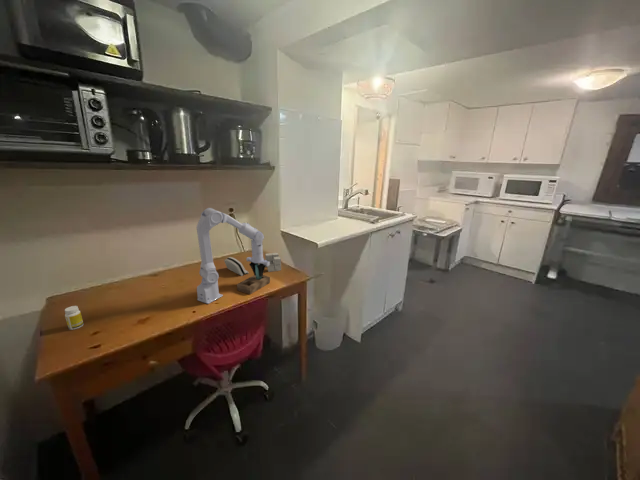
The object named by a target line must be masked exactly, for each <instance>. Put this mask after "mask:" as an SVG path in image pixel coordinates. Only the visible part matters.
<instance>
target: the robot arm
mask: <svg viewBox="0 0 640 480" xmlns="http://www.w3.org/2000/svg"><path fill="white" fill-rule="evenodd" d="M221 223H222V224H229V225H230V226H233V227H234V228H236V229H237V230H238V233H239V234H240V235H241V234H242V235H243V236H245V237H247V238H249V240H251V241H250V242H251V256H248V257H246V262H249V267H250V268H251V269H252V272H253V276H254V275H255V276H256V272H255V265H257V264H260V265H257V267H258V270H259V277H261V276H263V275H264V271H265V269H266V268H267V267H266V266H269V265H270V262H269V261H266V259H265V258H264V250H263V249H264V247H263V241H264V240H265V235H264V234H263V232H262V231H260V230H258V228H257V227H253V226H252V225H251V224H250V223H249V222H240V221H238V220H237V219H235V218H233V217H232V216H230V215H229V214H227V213H224V212H222V211H220V210H217V209H214V208H213V207H207V208H206V209H204V210H203V211H202V212H201V213H200V218H199V220H198V222H197V225H196V234H197V239H198V246H199V247H198V248H199V253H200V260H201V263H200V269H199V275H200V277H201V282H200V284H198V285H197V286H196V293H197V298H196V300H197V301H199V302H201V303H204V304H208V305H209V304H211V303H212V302H215V301H216V300H219V299H220V298H222V297H223V296H224V295H223V294H221V293H220V292H219V291H220V290H219V282H218V281H219V279H220V276H219V272H218V271H217V270H216V269H217V268H216V266H215V263H214V257H213V251H212V250H213V249H212V243H211V237H210V235H211V234H210V231H211V230H212V228H214V227H215V226H218V225H219V224H221Z"/></svg>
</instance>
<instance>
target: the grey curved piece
mask: <svg viewBox="0 0 640 480" xmlns="http://www.w3.org/2000/svg"><path fill="white" fill-rule="evenodd" d="M224 263H225V266H226V268H227V269H228V270H230V272H231V271H232V272H233V273H235V274H237V275H239V276H240V277H243V276H244V275H245V274H249V271H248V270H246V268H245V267H244V265H243V263H242V262H241V261H240V260H238V259H236V258H235V257H232V256H229V257H227V258H225V259H224Z"/></svg>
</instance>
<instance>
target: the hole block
mask: <svg viewBox="0 0 640 480" xmlns="http://www.w3.org/2000/svg"><path fill="white" fill-rule="evenodd" d="M261 278H262V279H260V280H257V279H256V276H255V275H254V274H253V275H252V276H250V277H248V278H246V279H244V280H242V281H240V282H238V283H237V284H236V290H237V291H239V292H241V293H245V294H248V295H251V294H253V293H255V292H257V291H258V290H260V289H262V288H264V287H265V286H267V285H268V284H270V283H271V276H268V275H264V274H263V276H261Z"/></svg>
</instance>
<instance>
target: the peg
mask: <svg viewBox="0 0 640 480" xmlns="http://www.w3.org/2000/svg"><path fill="white" fill-rule="evenodd" d="M257 265H260V264H257ZM257 265H255V272H256V279H257V280H260V279H262V278H261V277H259V270H258V267H257Z"/></svg>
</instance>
